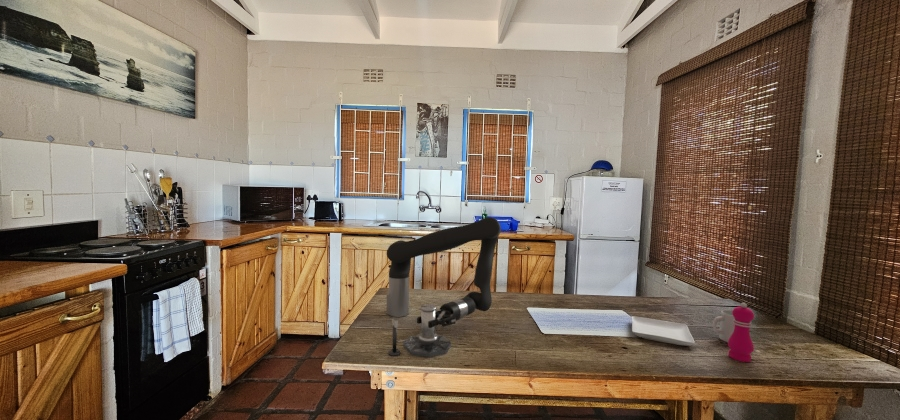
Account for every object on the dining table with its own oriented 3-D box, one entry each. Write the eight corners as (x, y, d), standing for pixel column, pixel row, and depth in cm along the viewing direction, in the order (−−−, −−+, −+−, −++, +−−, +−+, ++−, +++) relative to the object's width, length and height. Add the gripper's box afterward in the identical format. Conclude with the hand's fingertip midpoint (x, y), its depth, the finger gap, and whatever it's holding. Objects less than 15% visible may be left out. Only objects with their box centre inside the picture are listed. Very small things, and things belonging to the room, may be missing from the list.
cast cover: (416, 340, 131) (416, 308, 130) (422, 333, 137) (422, 302, 136) (434, 343, 129) (434, 310, 128) (439, 335, 135) (440, 304, 134)
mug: (735, 336, 150) (737, 310, 149) (751, 345, 141) (753, 317, 141) (705, 335, 150) (707, 309, 150) (719, 344, 142) (721, 316, 141)
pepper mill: (721, 353, 134) (725, 299, 132) (740, 353, 134) (744, 299, 133) (739, 362, 126) (743, 306, 125) (758, 362, 127) (762, 306, 126)
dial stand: (390, 357, 124) (391, 322, 123) (386, 352, 128) (387, 318, 127) (412, 352, 128) (413, 318, 127) (408, 348, 132) (408, 314, 131)
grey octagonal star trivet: (398, 352, 128) (398, 348, 128) (415, 335, 143) (415, 331, 143) (441, 359, 123) (442, 355, 123) (454, 341, 139) (454, 337, 138)
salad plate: (686, 331, 155) (686, 323, 155) (695, 351, 136) (695, 342, 135) (630, 322, 164) (630, 314, 164) (631, 339, 145) (632, 331, 144)
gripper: (440, 297, 148) (409, 308, 135) (468, 305, 138) (438, 317, 126) (440, 315, 148) (409, 327, 135) (468, 325, 139) (437, 338, 126)
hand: (423, 322), depth 131 cm, fingers closed on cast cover, 5 cm apart
